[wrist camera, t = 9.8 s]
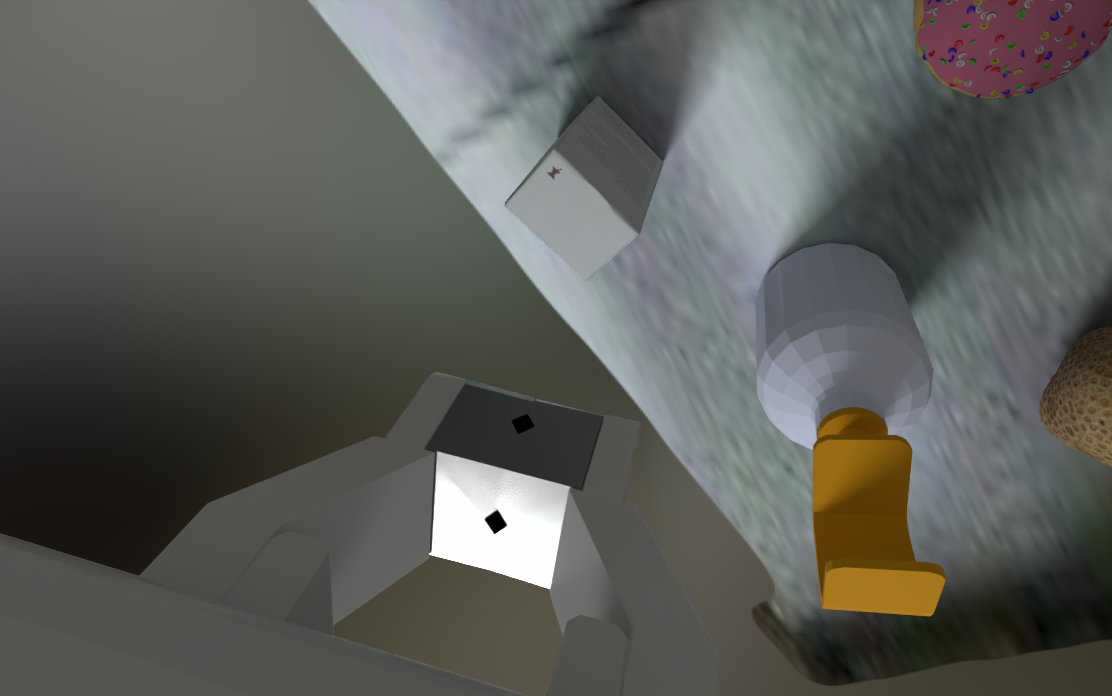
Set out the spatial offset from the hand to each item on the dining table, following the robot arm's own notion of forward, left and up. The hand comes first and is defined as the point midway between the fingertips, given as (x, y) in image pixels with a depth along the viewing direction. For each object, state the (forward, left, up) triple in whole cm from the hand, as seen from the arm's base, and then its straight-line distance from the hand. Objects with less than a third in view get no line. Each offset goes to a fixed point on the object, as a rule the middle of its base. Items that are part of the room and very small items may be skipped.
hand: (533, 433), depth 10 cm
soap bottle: (+14, +12, -37) cm, 42 cm away
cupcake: (-5, +14, -37) cm, 40 cm away
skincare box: (+7, -4, -37) cm, 38 cm away
